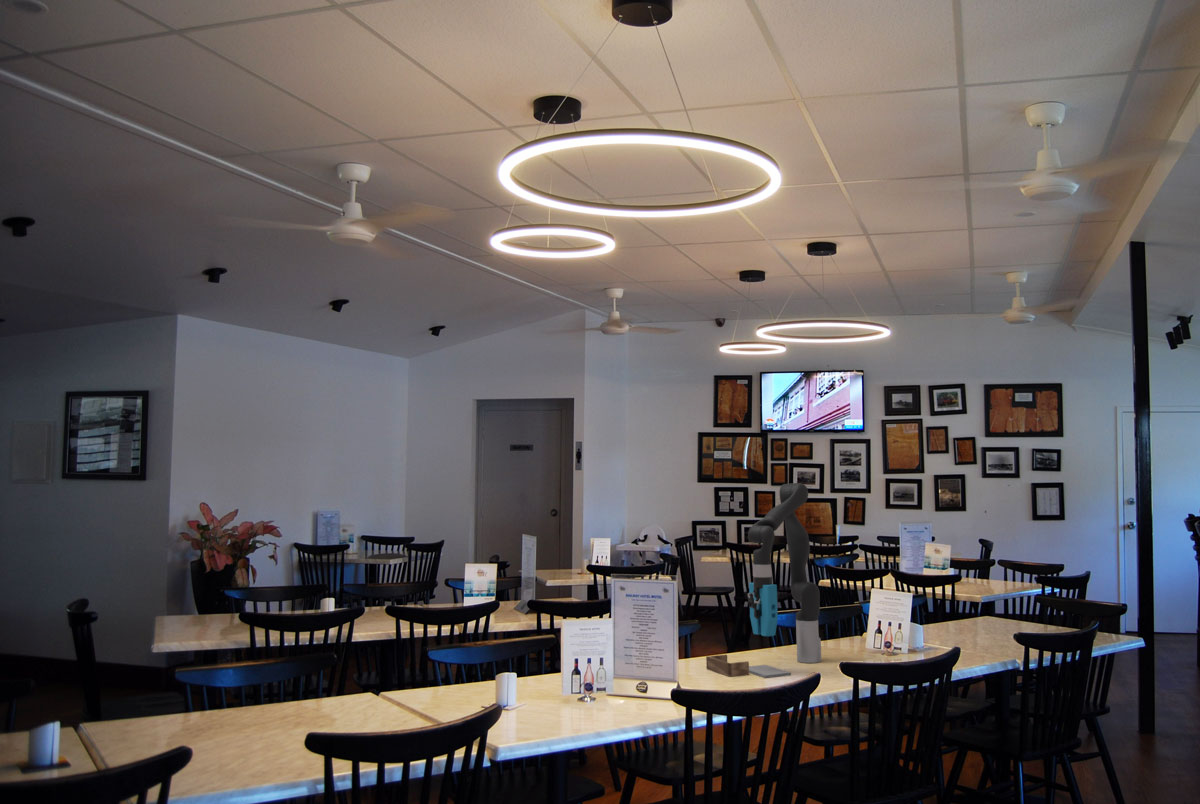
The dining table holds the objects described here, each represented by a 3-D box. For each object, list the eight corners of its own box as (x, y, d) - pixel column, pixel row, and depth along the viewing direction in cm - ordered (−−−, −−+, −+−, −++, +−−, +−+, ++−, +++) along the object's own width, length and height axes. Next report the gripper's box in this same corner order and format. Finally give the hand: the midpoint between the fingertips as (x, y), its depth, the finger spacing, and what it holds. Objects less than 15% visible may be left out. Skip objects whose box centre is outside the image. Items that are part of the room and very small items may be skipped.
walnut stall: (725, 666, 374) (725, 654, 374) (749, 674, 358) (748, 661, 358) (706, 668, 370) (706, 656, 370) (729, 676, 354) (728, 663, 355)
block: (779, 635, 359) (777, 584, 361) (769, 637, 357) (768, 585, 359) (758, 631, 370) (757, 582, 371) (749, 633, 367) (748, 583, 369)
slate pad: (765, 667, 372) (765, 664, 372) (791, 675, 356) (790, 672, 356) (740, 669, 367) (740, 667, 368) (765, 678, 351) (765, 675, 351)
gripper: (772, 573, 372) (773, 615, 370) (742, 575, 366) (743, 618, 364) (782, 575, 365) (784, 618, 363) (752, 577, 359) (753, 620, 357)
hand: (763, 618), depth 364 cm, fingers closed on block, 5 cm apart
